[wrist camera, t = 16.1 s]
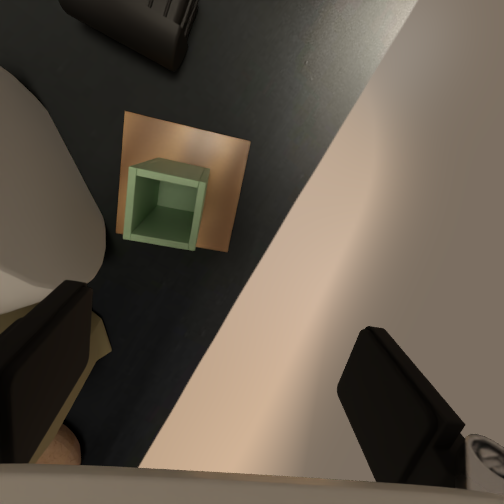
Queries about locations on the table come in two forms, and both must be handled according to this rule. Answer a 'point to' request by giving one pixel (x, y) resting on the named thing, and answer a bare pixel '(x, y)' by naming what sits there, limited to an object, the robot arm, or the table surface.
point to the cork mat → (195, 153)
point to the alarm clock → (41, 205)
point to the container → (97, 351)
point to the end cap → (141, 25)
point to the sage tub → (165, 203)
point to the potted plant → (62, 449)
